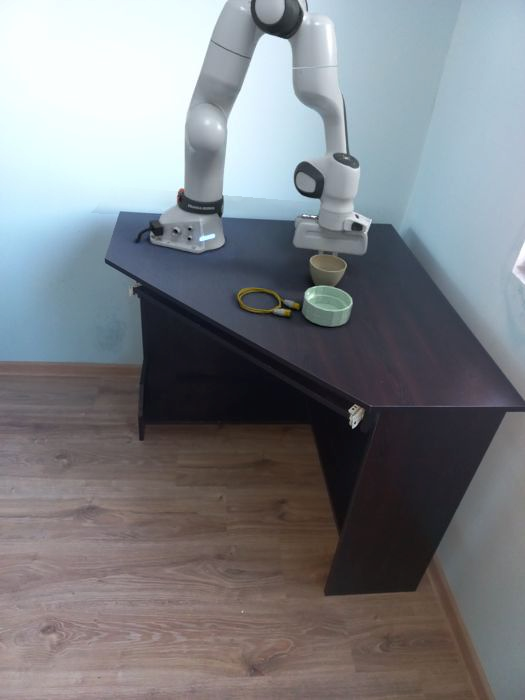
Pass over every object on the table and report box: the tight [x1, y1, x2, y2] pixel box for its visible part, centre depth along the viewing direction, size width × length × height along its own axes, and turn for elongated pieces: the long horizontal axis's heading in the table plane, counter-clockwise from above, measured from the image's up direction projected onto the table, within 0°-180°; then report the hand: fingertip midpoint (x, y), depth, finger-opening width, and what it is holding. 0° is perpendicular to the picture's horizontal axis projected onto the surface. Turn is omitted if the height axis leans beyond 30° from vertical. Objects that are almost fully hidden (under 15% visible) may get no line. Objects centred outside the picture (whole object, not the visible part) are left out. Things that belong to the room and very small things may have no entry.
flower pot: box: [309, 253, 348, 287], centre depth 146 cm, size 10×10×7 cm
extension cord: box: [236, 287, 301, 318], centre depth 136 cm, size 12×16×2 cm
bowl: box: [301, 286, 354, 328], centre depth 135 cm, size 12×12×5 cm
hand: (325, 264), depth 151 cm, fingers closed, pressing on flower pot
